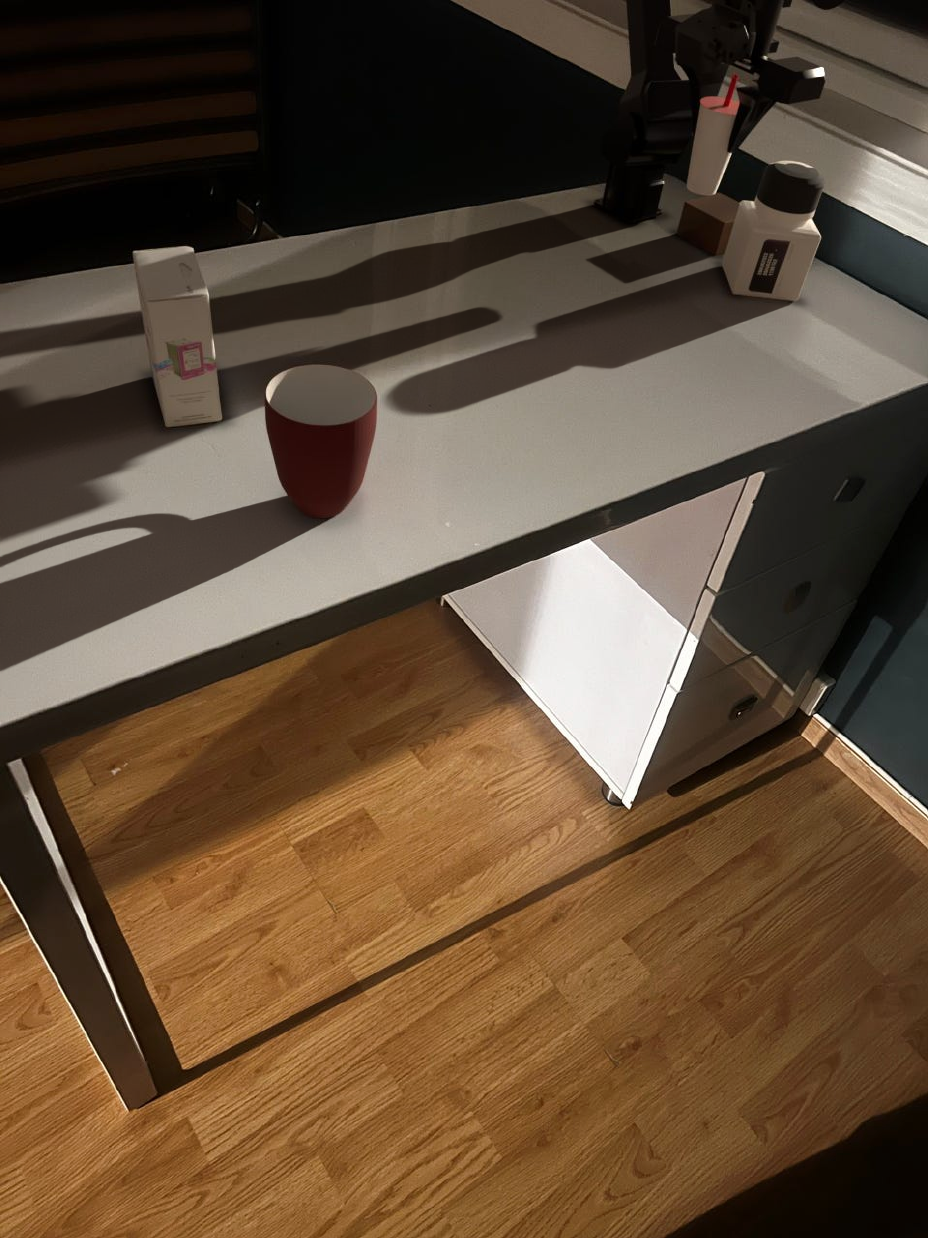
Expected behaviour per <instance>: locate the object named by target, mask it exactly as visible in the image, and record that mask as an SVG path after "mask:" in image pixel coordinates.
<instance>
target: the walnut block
mask: <svg viewBox="0 0 928 1238" xmlns="http://www.w3.org/2000/svg"><path fill="white" fill-rule="evenodd" d="M739 205H740V202H739V201H736V199H733V198H731V197H729V196H727V195H725V194H723V193H721V192H716V193H715V194H714V195H709V196H707V195H704V196H701V197H698V198H694V199H690V200H686V201H684V203H683V207H682V211H681V213H680V218H679V222H678V226H677V228H676V229H677V230H676V233H675V234H676V235H678V236H679V237H680V238H683V239H684V240H686V241H689V242H690V243H692V244H694V246H695V245H696V246H698V247H699V248H701V249H703V250H704V251H707V252H708V253H710V254H711V255H714V256H719V255H722V254H725V250H726V247H727V244H728V241H729V237H730V234H731V231H732V228H733V224H734V221H735V218H736V215H737V211H738V208H739Z"/></svg>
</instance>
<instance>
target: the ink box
mask: <svg viewBox="0 0 928 1238" xmlns="http://www.w3.org/2000/svg"><path fill="white" fill-rule="evenodd" d="M132 258H133V259H132V260H133V266H134V273H135V279H136V285H137V292H138V298H139V299H138V300H139V304H140V311H141V318H142V322H143V329H144V335H145V341H146V342H145V343H146V347H147V355H148V359H149V365H150V370H151V377H152V382H153V385H154V389H155V392H156V395H157V399H158V403H159V406H160V410H161V413H162V417H163V421H164V426H165V427H166V428H172V427H182V426H190V425H199V424H205V423H206V424H207V423H213V422H220V421H222V419H223V414H222V413H223V412H222V405H221V399H220V388H219V378H218V370H217V369H218V367H217V359H216V351H215V342H214V341H215V340H214V331H213V323H212V313H211V305H210V304H211V303H210V294H209V291H208V288H207V286H206V282H205V280H204V277H203V274H202V271H201V268H200V265H199V262H198V259H197V257H196V253H195V250H194V248H193V247H192V246H188V245H183V246H182V245H181V246H171V247H170V246H169V247H162V248H161V247H160V248H150V249H149V248H148V249H140V250H133V251H132Z"/></svg>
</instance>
